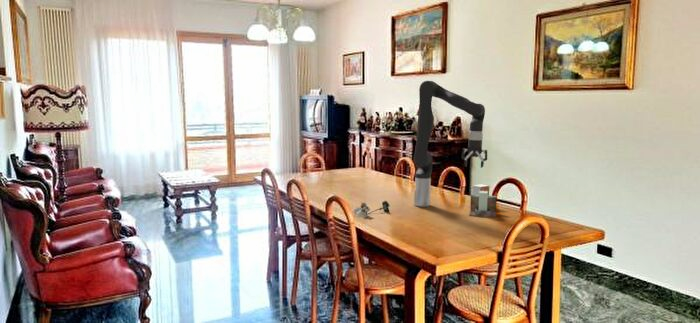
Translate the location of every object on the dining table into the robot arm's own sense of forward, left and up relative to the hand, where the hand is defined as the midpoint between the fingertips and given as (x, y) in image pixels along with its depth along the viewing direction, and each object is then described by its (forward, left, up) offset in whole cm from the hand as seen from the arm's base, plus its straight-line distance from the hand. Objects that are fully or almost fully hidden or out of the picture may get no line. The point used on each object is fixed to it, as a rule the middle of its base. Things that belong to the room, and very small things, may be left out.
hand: (473, 167), depth 272 cm
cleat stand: (+6, -7, -26) cm, 27 cm away
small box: (+4, +13, -26) cm, 30 cm away
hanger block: (+6, -7, -25) cm, 27 cm away
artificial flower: (-54, -24, -26) cm, 64 cm away
